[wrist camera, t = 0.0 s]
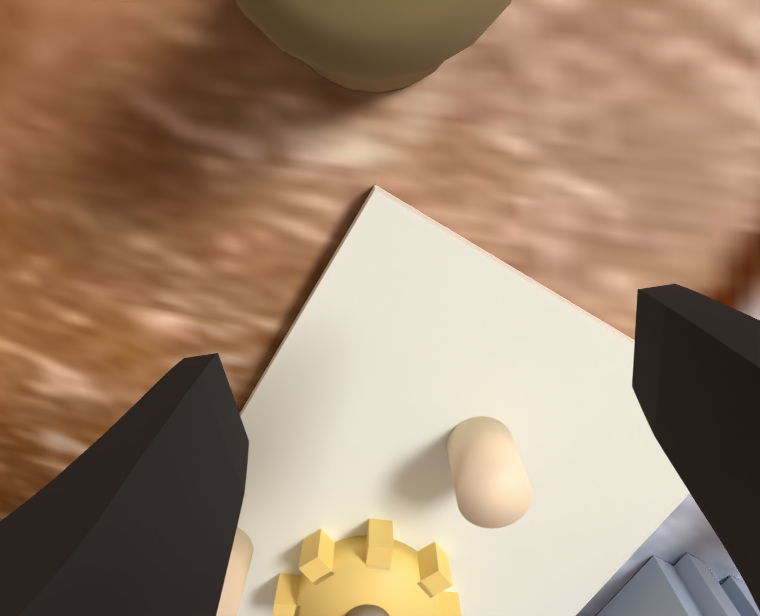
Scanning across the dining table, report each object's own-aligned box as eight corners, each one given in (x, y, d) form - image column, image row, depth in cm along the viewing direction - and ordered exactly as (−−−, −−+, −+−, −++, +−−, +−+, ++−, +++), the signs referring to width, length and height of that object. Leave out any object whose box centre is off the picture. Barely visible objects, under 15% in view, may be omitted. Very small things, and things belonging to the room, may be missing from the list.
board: (473, 700, 28) (488, 794, 25) (152, 561, 25) (113, 644, 22) (742, 405, 23) (814, 469, 19) (375, 184, 20) (374, 209, 16)
